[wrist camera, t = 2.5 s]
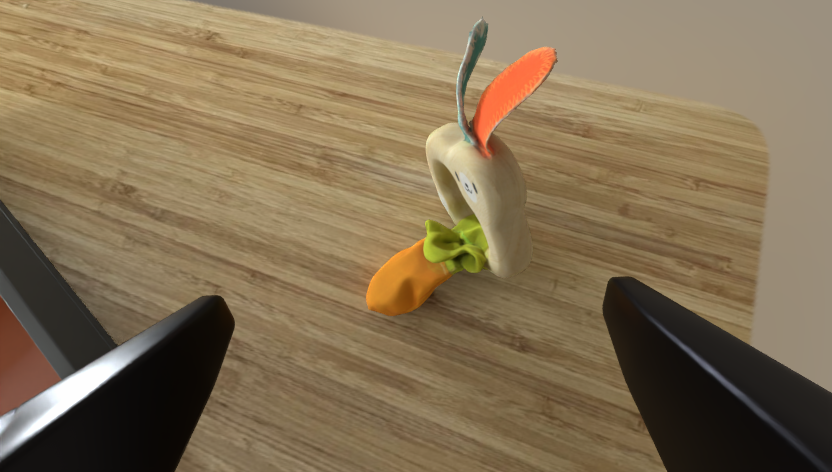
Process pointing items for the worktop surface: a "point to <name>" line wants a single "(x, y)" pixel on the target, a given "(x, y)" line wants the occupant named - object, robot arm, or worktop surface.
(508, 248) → the rattle
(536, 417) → the worktop surface
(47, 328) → the tray
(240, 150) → the worktop surface
